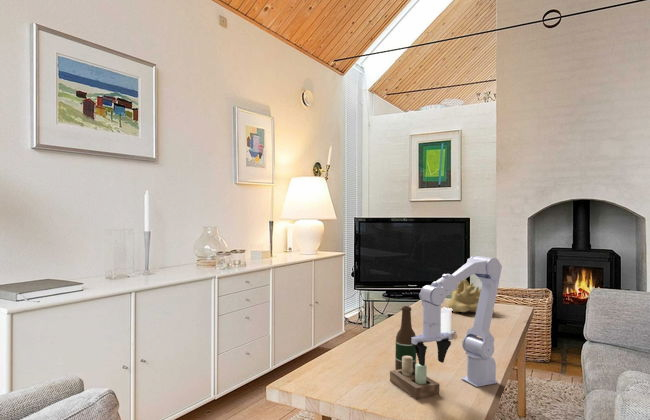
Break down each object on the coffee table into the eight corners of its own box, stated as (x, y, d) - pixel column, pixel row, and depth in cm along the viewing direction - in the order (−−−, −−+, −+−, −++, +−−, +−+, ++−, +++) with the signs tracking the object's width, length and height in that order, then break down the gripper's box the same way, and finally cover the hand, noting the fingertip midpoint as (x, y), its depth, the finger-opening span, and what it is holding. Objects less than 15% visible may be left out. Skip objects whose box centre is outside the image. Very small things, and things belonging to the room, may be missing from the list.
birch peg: (408, 380, 158) (408, 355, 158) (414, 384, 155) (414, 358, 155) (399, 382, 157) (400, 356, 156) (405, 385, 153) (405, 359, 153)
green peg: (421, 389, 150) (421, 362, 150) (428, 393, 147) (428, 366, 147) (413, 391, 149) (413, 364, 149) (419, 395, 146) (419, 367, 146)
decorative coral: (432, 288, 273) (466, 263, 269) (452, 313, 277) (486, 289, 274) (444, 307, 248) (481, 280, 245) (466, 334, 252) (503, 309, 249)
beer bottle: (413, 367, 171) (414, 304, 171) (418, 374, 163) (419, 309, 163) (393, 367, 171) (394, 304, 171) (397, 374, 163) (398, 309, 163)
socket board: (411, 377, 161) (411, 367, 161) (439, 394, 146) (439, 384, 146) (389, 380, 157) (389, 370, 157) (416, 399, 143) (416, 388, 143)
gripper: (420, 327, 141) (420, 370, 141) (457, 323, 147) (457, 364, 147) (407, 322, 148) (407, 363, 148) (443, 317, 153) (443, 357, 153)
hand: (431, 363), depth 148 cm, fingers open, 7 cm apart
